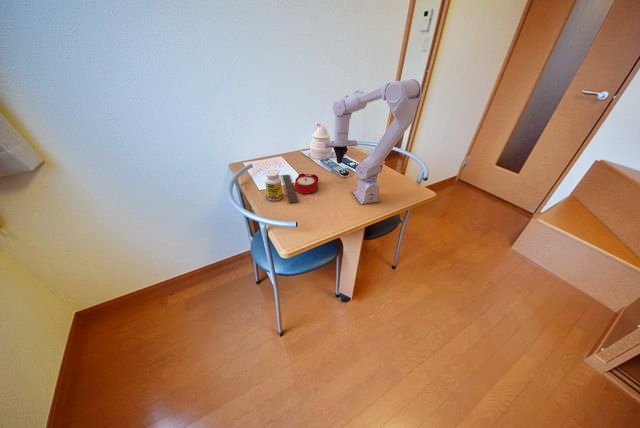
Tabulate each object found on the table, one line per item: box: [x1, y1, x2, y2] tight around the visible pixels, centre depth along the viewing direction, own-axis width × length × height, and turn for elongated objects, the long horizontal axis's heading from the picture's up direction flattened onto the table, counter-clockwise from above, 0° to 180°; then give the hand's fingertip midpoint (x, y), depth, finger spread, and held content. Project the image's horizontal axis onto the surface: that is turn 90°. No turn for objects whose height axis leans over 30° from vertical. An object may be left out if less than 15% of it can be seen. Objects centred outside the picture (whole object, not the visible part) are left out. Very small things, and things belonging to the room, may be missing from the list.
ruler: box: [282, 174, 299, 204], centre depth 97 cm, size 24×3×1 cm, turn 16°
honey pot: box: [309, 121, 333, 160], centre depth 124 cm, size 13×13×18 cm
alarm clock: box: [293, 173, 319, 196], centre depth 98 cm, size 10×6×15 cm
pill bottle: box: [264, 170, 283, 202], centre depth 88 cm, size 6×6×11 cm
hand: (339, 162), depth 98 cm, fingers closed
